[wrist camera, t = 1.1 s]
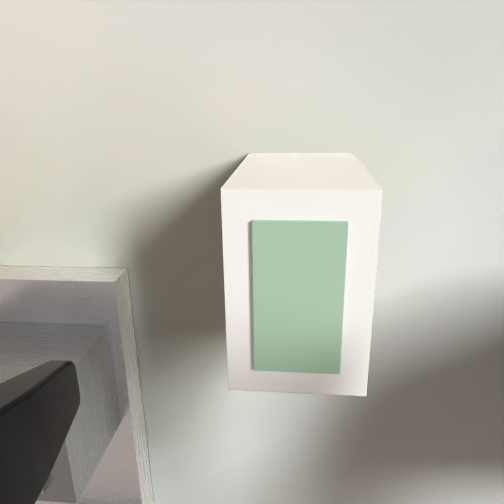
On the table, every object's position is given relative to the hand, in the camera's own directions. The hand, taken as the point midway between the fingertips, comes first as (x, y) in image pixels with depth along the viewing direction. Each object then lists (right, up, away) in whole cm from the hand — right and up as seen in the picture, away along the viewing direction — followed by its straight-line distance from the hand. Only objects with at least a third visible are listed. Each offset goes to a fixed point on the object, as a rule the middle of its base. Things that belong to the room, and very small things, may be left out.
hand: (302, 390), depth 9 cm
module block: (+1, +4, +10) cm, 11 cm away
